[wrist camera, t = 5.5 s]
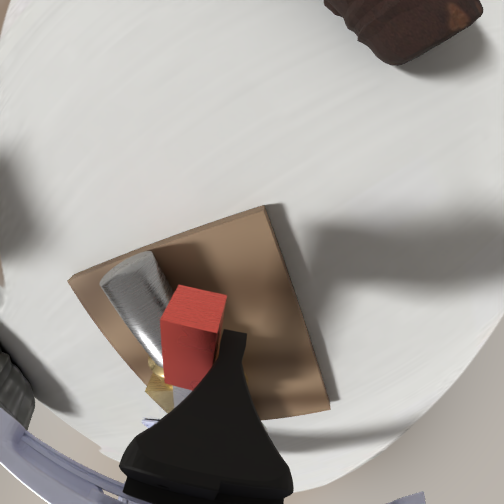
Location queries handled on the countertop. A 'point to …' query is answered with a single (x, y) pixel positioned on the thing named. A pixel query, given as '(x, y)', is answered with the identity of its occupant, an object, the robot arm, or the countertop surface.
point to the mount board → (229, 308)
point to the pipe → (405, 24)
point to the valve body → (144, 313)
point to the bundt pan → (15, 392)
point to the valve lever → (190, 337)
